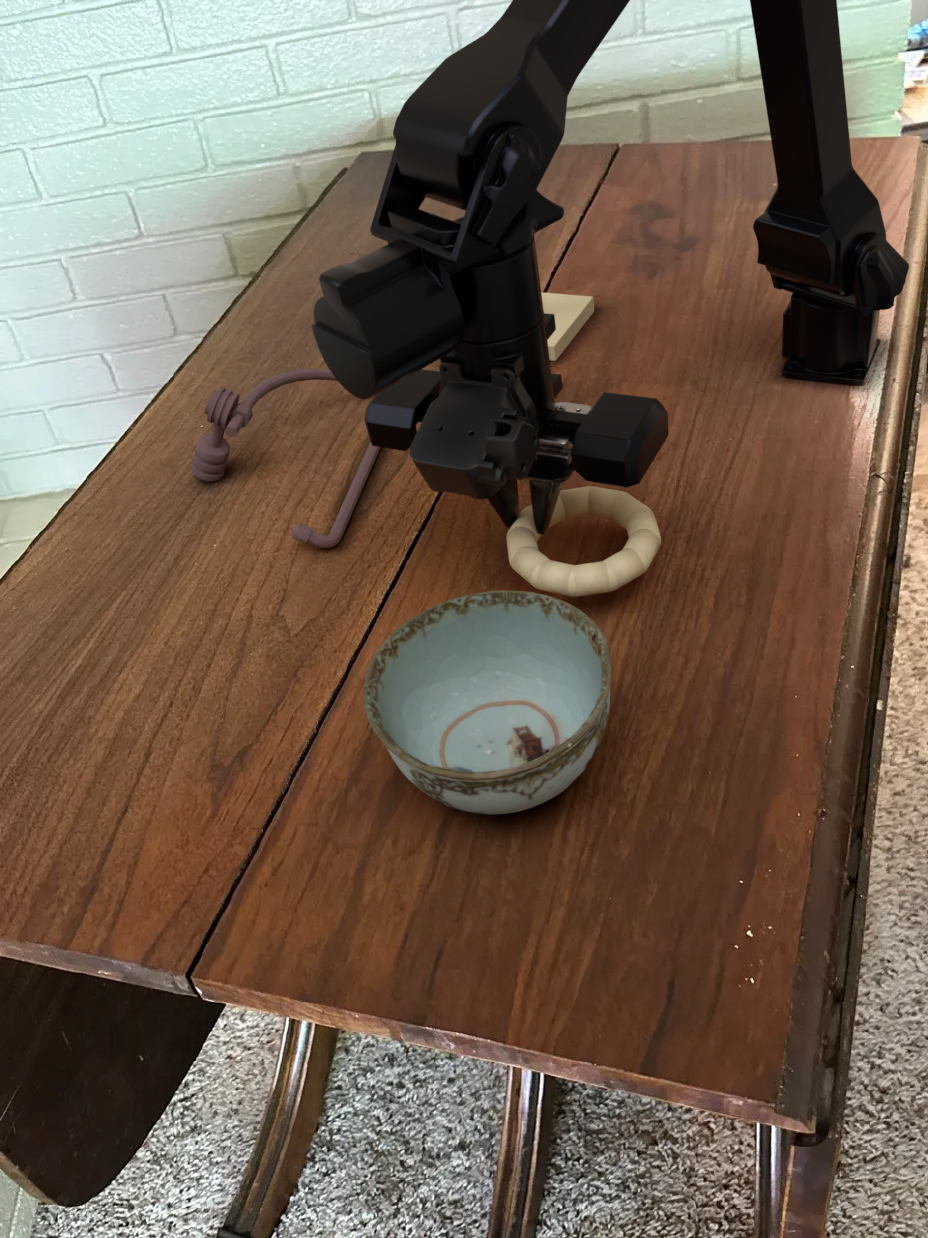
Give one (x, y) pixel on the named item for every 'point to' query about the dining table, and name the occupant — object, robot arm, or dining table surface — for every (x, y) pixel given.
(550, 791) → the bowl
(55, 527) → the dining table surface
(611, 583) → the ring
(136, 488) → the dining table surface
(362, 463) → the toilet paper hanger
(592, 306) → the peg stand
